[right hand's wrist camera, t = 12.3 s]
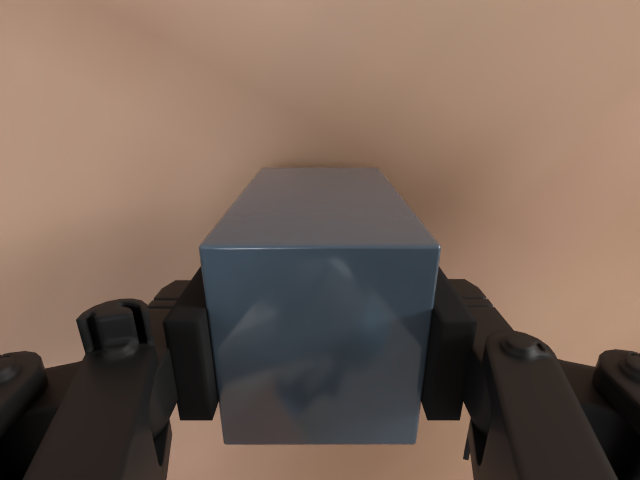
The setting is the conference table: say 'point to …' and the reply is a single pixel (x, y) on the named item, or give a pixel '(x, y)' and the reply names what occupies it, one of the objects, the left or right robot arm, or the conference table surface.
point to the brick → (319, 309)
